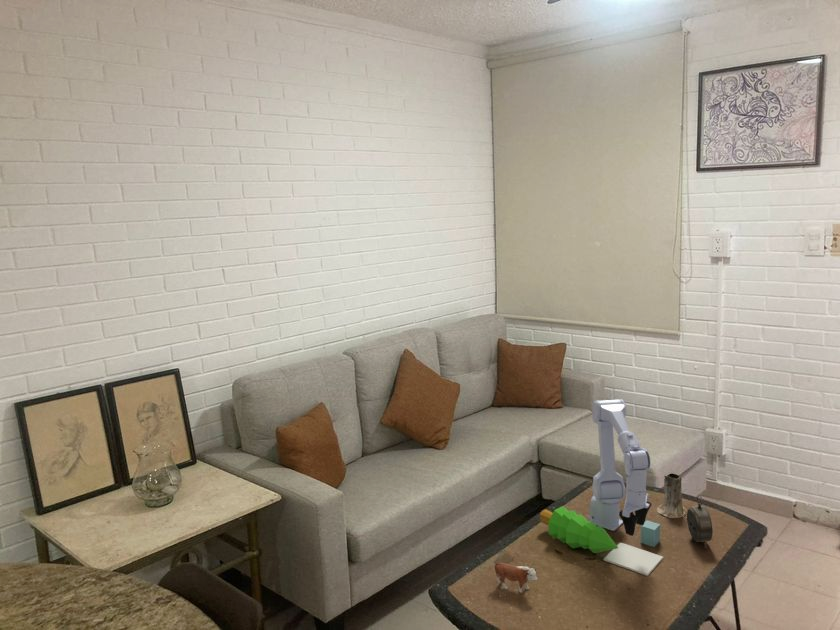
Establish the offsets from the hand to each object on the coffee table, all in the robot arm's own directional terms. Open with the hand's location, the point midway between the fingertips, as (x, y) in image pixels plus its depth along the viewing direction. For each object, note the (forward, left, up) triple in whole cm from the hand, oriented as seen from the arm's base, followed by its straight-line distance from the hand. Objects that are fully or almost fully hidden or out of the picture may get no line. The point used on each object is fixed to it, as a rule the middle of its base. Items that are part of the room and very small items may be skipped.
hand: (635, 529), depth 205 cm
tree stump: (-2, +37, -11) cm, 39 cm away
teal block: (0, +13, -10) cm, 17 cm away
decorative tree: (-17, -4, -11) cm, 21 cm away
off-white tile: (0, 0, -10) cm, 10 cm away
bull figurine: (-20, -35, -11) cm, 42 cm away
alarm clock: (+12, +22, -11) cm, 27 cm away
